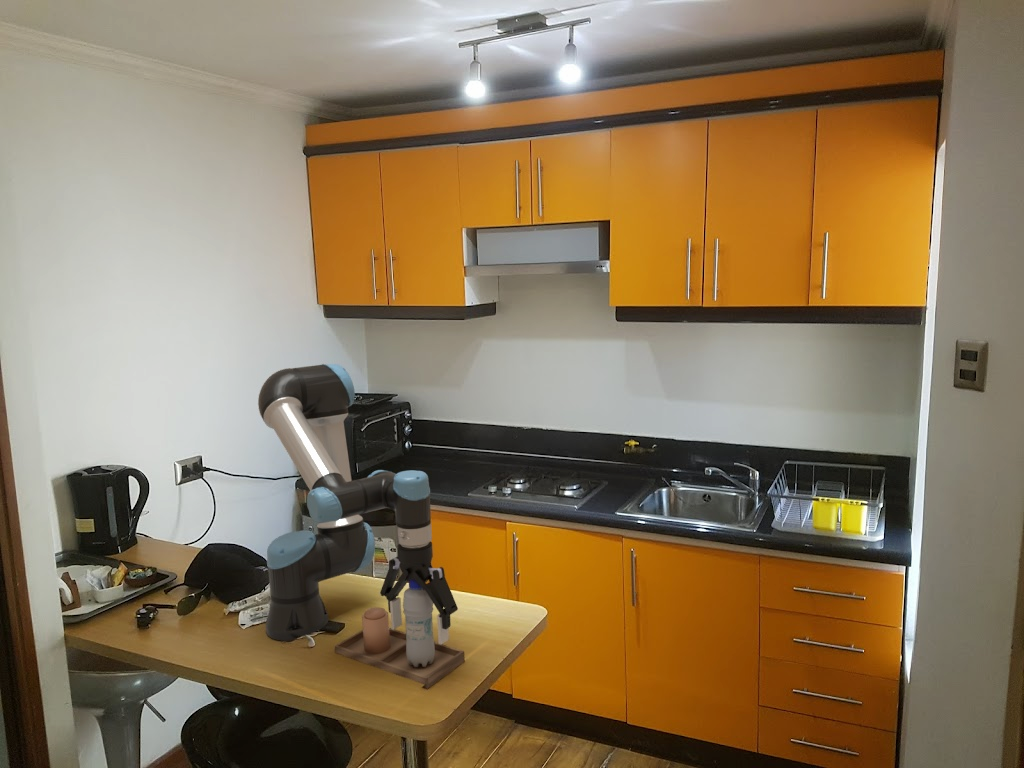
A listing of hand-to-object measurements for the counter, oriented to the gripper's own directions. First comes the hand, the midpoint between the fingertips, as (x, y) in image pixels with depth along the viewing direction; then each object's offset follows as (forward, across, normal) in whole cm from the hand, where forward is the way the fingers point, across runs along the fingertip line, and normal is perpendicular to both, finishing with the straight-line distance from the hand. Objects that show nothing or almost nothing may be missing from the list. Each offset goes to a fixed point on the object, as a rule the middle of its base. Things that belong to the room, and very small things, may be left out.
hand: (419, 634), depth 168 cm
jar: (+7, -13, 0) cm, 15 cm away
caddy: (+8, -7, 0) cm, 10 cm away
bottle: (+7, 0, 0) cm, 7 cm away
